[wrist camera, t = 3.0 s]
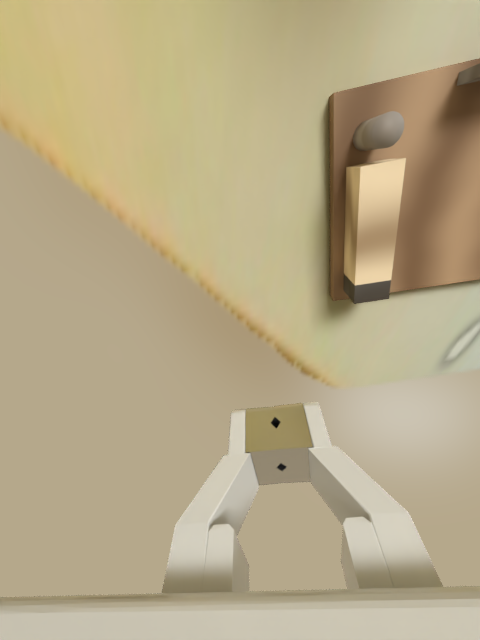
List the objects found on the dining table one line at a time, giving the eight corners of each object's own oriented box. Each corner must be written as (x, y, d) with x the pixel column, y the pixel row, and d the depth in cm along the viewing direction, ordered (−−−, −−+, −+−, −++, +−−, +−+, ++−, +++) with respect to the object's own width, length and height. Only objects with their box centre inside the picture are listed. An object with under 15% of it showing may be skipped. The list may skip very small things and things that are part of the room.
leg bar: (346, 167, 17) (360, 167, 15) (385, 159, 17) (406, 157, 15) (343, 290, 22) (354, 303, 19) (374, 285, 21) (388, 298, 19)
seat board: (581, 37, 15) (684, -3, 11) (500, 270, 22) (548, 289, 18) (329, 96, 16) (351, 78, 13) (330, 296, 23) (344, 318, 20)
